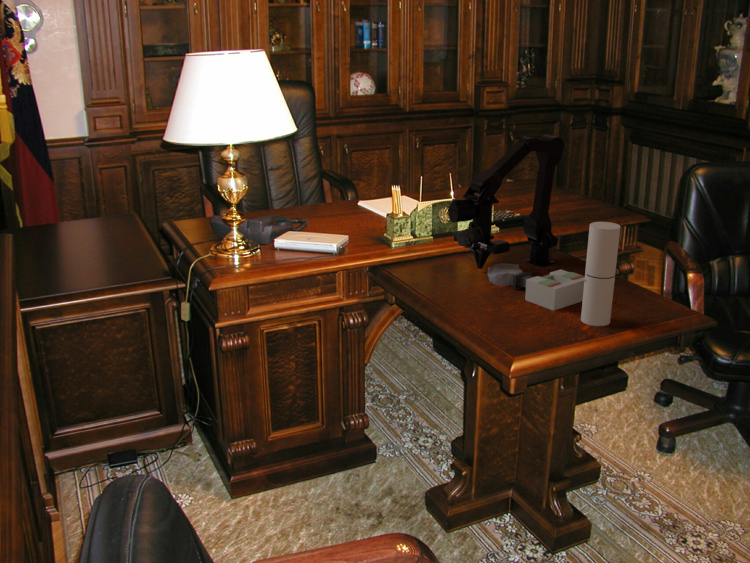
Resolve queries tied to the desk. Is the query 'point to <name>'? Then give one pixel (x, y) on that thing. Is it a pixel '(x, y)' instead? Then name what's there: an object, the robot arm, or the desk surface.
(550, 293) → the block
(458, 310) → the desk surface
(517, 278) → the black rectangular block
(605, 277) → the cylindrical container
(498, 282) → the stone block
